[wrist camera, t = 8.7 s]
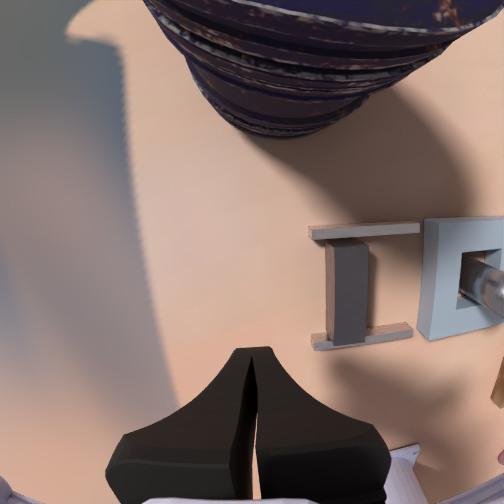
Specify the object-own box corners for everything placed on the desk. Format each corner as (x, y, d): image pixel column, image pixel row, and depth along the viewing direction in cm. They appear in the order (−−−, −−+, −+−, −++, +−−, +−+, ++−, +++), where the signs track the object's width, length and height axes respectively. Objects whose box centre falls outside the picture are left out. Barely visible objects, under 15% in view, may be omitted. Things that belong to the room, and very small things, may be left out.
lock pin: (477, 283, 20) (531, 313, 14) (452, 294, 20) (504, 330, 14) (475, 251, 20) (532, 275, 13) (449, 262, 20) (505, 291, 14)
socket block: (493, 312, 21) (507, 321, 19) (416, 328, 21) (428, 341, 19) (503, 215, 19) (520, 219, 17) (423, 218, 19) (439, 222, 17)
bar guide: (405, 329, 21) (411, 336, 20) (311, 342, 21) (313, 350, 20) (411, 220, 19) (419, 223, 18) (308, 226, 19) (311, 229, 18)
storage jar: (165, 80, 18) (21, -59, 3) (263, -19, 16) (272, -192, 1) (293, 175, 19) (412, 164, 4) (384, 66, 17) (539, -46, 2)
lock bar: (354, 325, 21) (364, 342, 18) (325, 329, 21) (333, 346, 18) (355, 238, 20) (368, 245, 17) (324, 240, 20) (334, 248, 17)
